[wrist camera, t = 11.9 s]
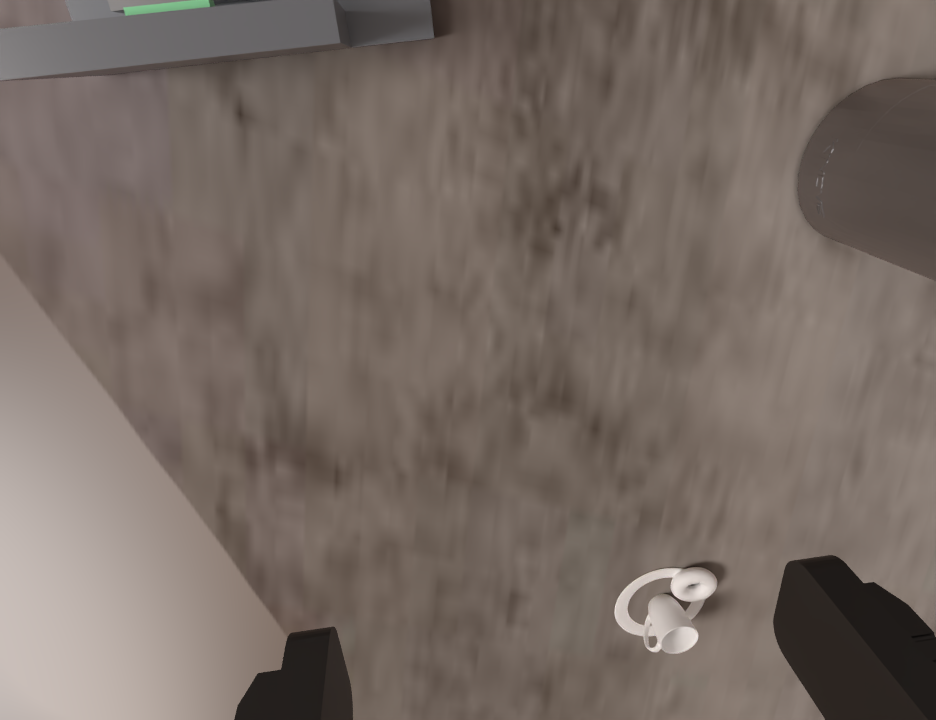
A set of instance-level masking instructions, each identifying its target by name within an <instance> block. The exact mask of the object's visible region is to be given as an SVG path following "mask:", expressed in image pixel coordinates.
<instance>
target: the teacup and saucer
mask: <svg viewBox="0 0 936 720" xmlns="http://www.w3.org/2000/svg"><path fill="white" fill-rule="evenodd" d="M666 577H673V579H672V581H671V586H670V587H671V591H672V593H673V594H674V595H675V596H676V597H677V598H678V599H680V600H682V601H687V602H691V604H690V606H689V607H688V608H687V610H686V611H684V610H683V608H682V607H681V605H680V604H679V603H678V602H677V601H676V600H675V599H674V598H673V597H672V596H670V595H668V594H660V595H657V596H655V597H653V598H652V599H651V600H650V602H649V605H648V611H649V614H648V616H647V618H646V621H645V625H640V624H638V623H636V622H634V621H633V620H632V619H631V618H630V616H629V614H628V610H627V607H628V603H629V600H630V598H631V597H632V595H633V594H634V593H635V592H636V591H637V590H638V589H639V588H640V587H642V586H643V585H645V584H646V583H648V582H650V581H653V580H656V579H660V578H666ZM689 585H690V586H689ZM716 588H717V579H716V577H715V575H714V574H713V573H712V572H711V571H709V570H707V569H705V568H701V567H691V568H687V569H682V568H664V569H659V570H655V571H652V572H649V573H647V574H644V575H642V576H641V577H639V578H637V579H636V580H634V581H633V582H632V583H630V584H629V585H628V586H627V587H626V588H625V589H624V590H623V591H622V593H621V594H620V596H619V597H618V599H617V602H616V605H615V618H616V620H617V622H618V624H619V625H620V626H621V627H622V628H623V629H624V630H625V631H627V632H629V633H631V634H634V635H639V636H644V643H645V646H646V647H647V649H648V650H650V651H652V652H658V651H659V650H660V649H661V648H662V650H663V651H665V652H667V653H671V654H676V653H681V652H684V651H686V650H688V649H690V648H691V647H692V646H694V644H695V643H696V642H697V640H698V632H697V630H696V628H695V627H694V625H693V623H692V622H691V619H693V618H694V617H695V616H696V614H697V613H698V612H699V611H700V609H701V608H702V606H703V604H704V601H705V599H706V598H708V597H709V596H710V595H712V594H713V593H714V591H715V590H716ZM650 623H651V624H652V626H650ZM648 636H656V637H657V640H658V642H657V644H656V646H655V647H654V648H650V647H649V642H648Z"/></svg>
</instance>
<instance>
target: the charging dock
mask: <svg viewBox="0 0 936 720" xmlns="http://www.w3.org/2000/svg"><path fill="white" fill-rule="evenodd" d="M65 2H66V5H67V8H68V11H69V13H70V16H71V19H72V21H71V22H61V23H51V24H42V25H32V26H23V27H13V28H4V29H0V81H10V80H28V79H47V78H66V77H84V76H102V75H111V74H120V73H129V72H138V71H147V70H156V69H165V68H174V67H183V66H192V65H201V64H210V63H219V62H228V61H237V60H246V59H255V58H264V57H273V56H282V55H291V54H300V53H309V52H318V51H327V50H336V49H345V48H354V47H363V46H372V45H381V44H390V43H399V42H408V41H417V40H426V39H433V38H434V31H433V22H432V13H431V4H430V0H65Z"/></svg>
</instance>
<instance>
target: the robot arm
mask: <svg viewBox="0 0 936 720" xmlns="http://www.w3.org/2000/svg"><path fill="white" fill-rule="evenodd" d="M798 196H799V202H800V207H801V209H802V211H803V214H804V216H805V218H806V220H807V221H808V222H809V223H810V225H811V226H812V227H813V228H814V229H815V230H816V231H818V232H819V233H821V234H822V235H824V236H826V237H828V238H831V239H833V240H836V241H838V242H841V243H843V244H846V245H848V246H851V247H853V248H856V249H858V250H861V251H863V252H866V253H868V254H870V255H872V256H875V257H877V258H880V259H882V260H885V261H887V262H890V263H892V264H895V265H897V266H900V267H902V268H905V269H907V270H910V271H912V272H915V273H917V274H920V275H922V276H925V277H927V278H930V279H932V280H935V281H936V80H934V79H905V78H897V79H888V80H881V81H878V82H875V83H873V84H870V85H867V86H865V87H863V88H861V89H859V90H858V91H856V92H854V93H852V94H851V95H849V96H848V97H847V98H845V99H844V100H843V101H842V102H841V103H839V104H838V105H837V106H836V107H834V108H833V110H832V111H831V112H830V113H829V114H828V115H827V116H826V118H825V119H824V120H823V121H822V122H821V123H820V125H819V127H818V128H817V130H816V131H815V133H814V134H813V136H812V138H811V139H810V141H809V144H808V146H807V148H806V150H805V153H804V155H803V158H802V162H801V166H800V170H799V174H798ZM773 625H774V632H775V636H776V639H777V642H778V645H779V647H780V649H781V651H782V653H783V655H784V657H785V658H786V660H787V661H788V663H789V664H790V666H791V668H792V669H793V671H794V672H795V674H796V675H797V677H798V678H799V680H800V681H801V683H802V684H803V686H804V687H805V689H806V690H807V692H808V694H809V695H810V697H811V698H812V700H813V701H814V703H815V704H816V706H817V707H818V709H819V710H820V712H821V713H822V715H823V717H824V718H825V720H936V637H935V635H934V632H933V631H932V630H931V629H930V628H929V627H928V626H927V625H926V623H925V622H924V621H923V620H922V619H921V618H920V617H919V616H918V615H917V614H916V613H915V612H914V611H913V610H912V609H911V607H910V606H909V605H908V604H906V603H905V602H903V601H902V600H900V599H899V598H897V597H896V596H894V595H893V594H891V593H890V592H888V591H886V590H885V589H883V588H882V587H880V586H879V585H877V584H876V583H874V582H871V583H863V582H862V581H861V580H860V579H859V578H858V577H857V576H856V575H855V573H854V572H853V571H852V570H851V569H850V568H849V567H848V566H847V564H846V563H845V562H844V561H842V560H841V559H840V558H838V557H836V556H833V555H828V556H821V557H814V558H808V559H801V560H794V561H790V562H788V563H787V565H786V567H785V570H784V574H783V579H782V583H781V588H780V592H779V596H778V601H777V605H776V609H775V614H774V619H773ZM234 720H353V704H352V691H351V684H350V680H349V676H348V672H347V668H346V664H345V661H344V657H343V653H342V649H341V645H340V641H339V638H338V634H337V631H336V628H335V627H328V628H321V629H314V630H308V631H301V632H294V633H290V634H289V636H288V638H287V642H286V646H285V652H284V657H283V663H282V668H281V670H277V671H270V672H263V673H258V674H257V676H256V677H255V679H254V681H253V682H252V684H251V685H250V687H249V689H248V690H247V692H246V693H245V695H244V697H243V698H242V700H241V701H240V703H239V705H238V707H237V711H236V715H235V719H234Z"/></svg>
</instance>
